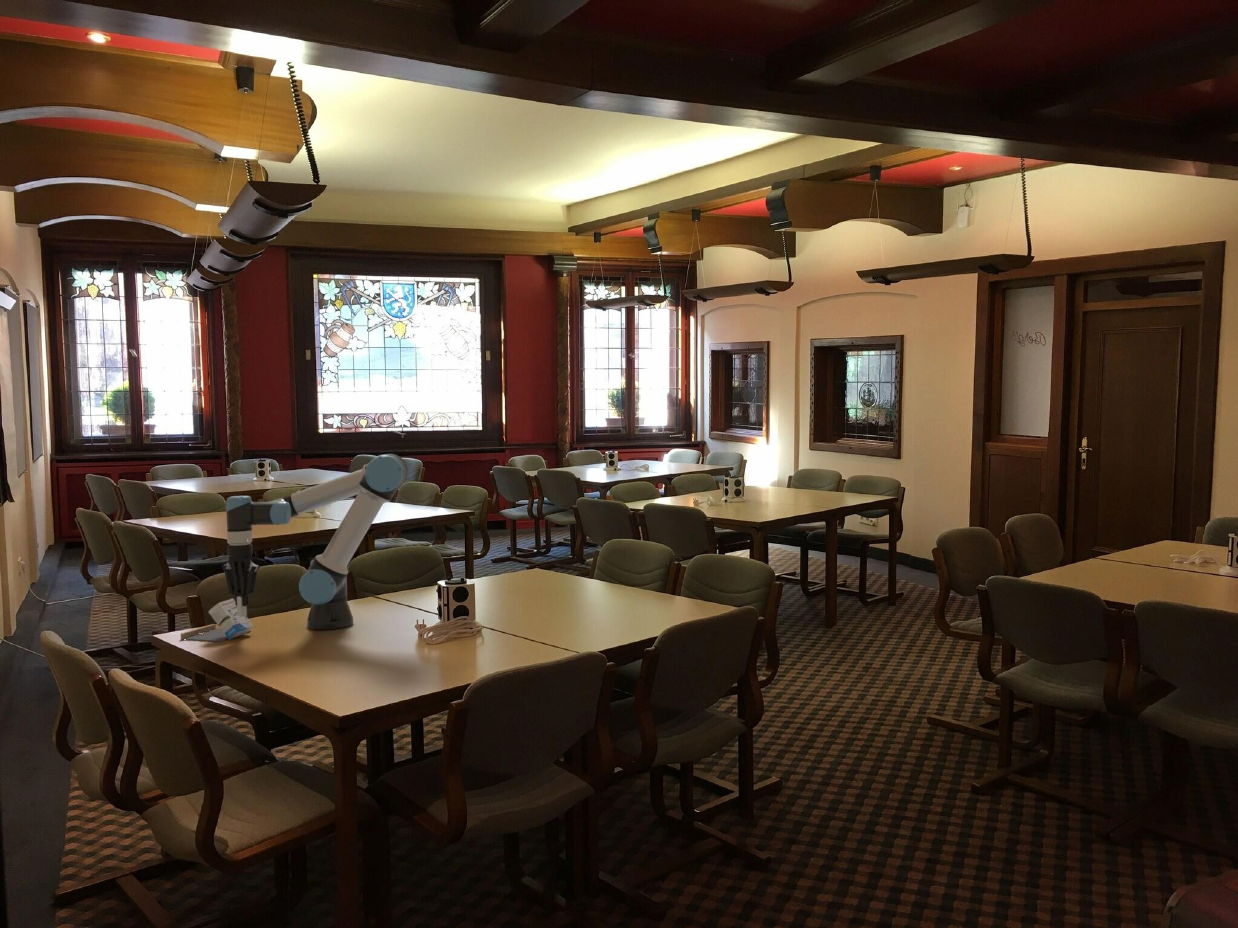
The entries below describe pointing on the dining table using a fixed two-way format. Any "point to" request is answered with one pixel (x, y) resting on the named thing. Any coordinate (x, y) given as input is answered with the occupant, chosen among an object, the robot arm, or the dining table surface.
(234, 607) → the ink box
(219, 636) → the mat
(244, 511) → the robot arm
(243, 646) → the dining table surface
